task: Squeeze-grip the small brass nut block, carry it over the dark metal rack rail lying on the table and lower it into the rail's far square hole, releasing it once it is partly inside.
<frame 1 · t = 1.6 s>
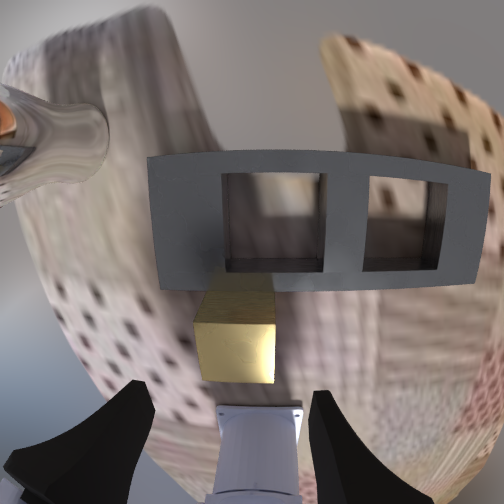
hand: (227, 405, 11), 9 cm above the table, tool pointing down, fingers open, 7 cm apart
nut block: (244, 301, 19), on the table
beer glass: (78, 143, 17), on the table
rack rail: (337, 216, 17), on the table
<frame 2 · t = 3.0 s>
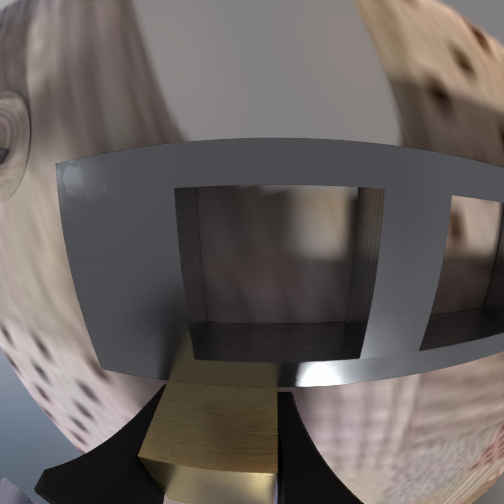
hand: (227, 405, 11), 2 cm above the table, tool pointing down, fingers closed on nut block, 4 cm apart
nut block: (231, 378, 12), on the table, touching gripper
beer glass: (2, 146, 9), on the table
rack rail: (382, 257, 10), on the table
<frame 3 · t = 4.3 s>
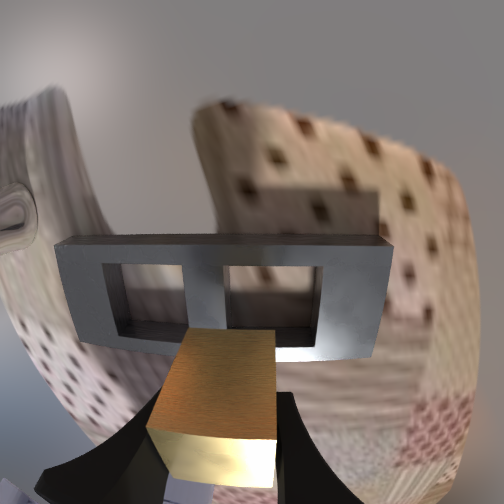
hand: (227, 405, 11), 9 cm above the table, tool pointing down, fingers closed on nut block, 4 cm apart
nut block: (233, 361, 13), point 6 cm above the table, touching gripper
beer glass: (19, 215, 18), on the table
rack rail: (212, 291, 19), on the table
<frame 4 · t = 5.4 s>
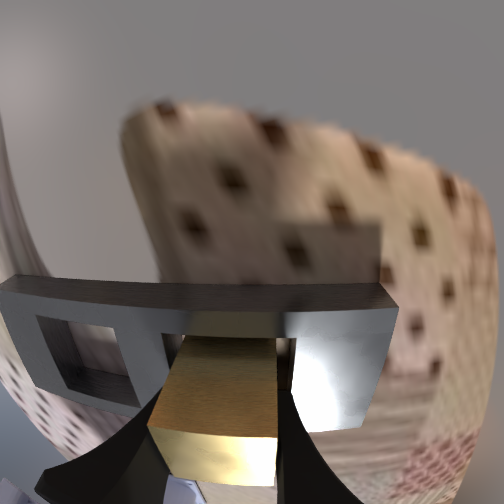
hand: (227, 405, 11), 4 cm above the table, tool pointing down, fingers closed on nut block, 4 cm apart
nut block: (234, 360, 13), point 1 cm above the table, touching gripper
rack rail: (163, 348, 14), on the table
when the fingers open (3 cm above the table, at t = 6.0 s): nut block stays where it is, on the table.
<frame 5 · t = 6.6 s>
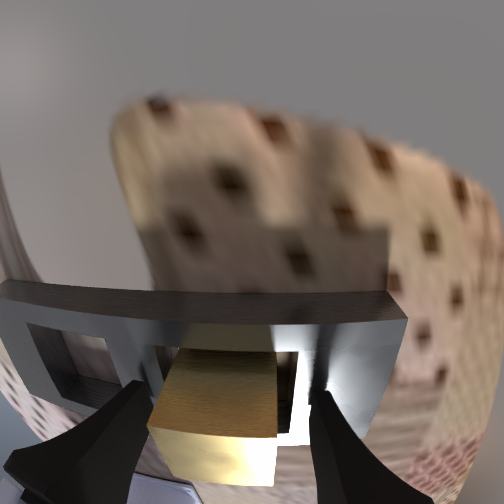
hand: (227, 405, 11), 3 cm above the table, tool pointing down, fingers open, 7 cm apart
nut block: (233, 360, 13), on the table
rack rail: (158, 358, 13), on the table
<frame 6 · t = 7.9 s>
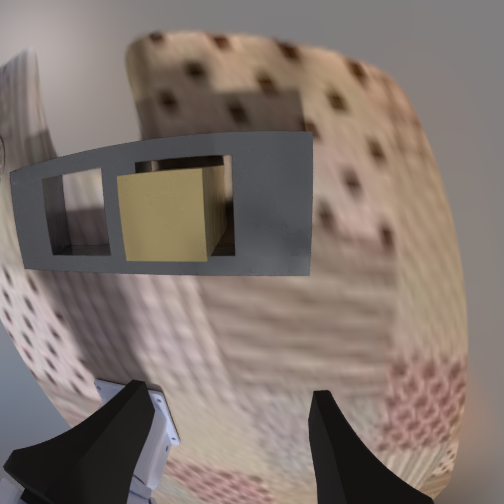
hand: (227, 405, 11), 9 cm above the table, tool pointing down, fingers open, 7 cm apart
nut block: (194, 198, 17), on the table
rack rail: (137, 204, 18), on the table
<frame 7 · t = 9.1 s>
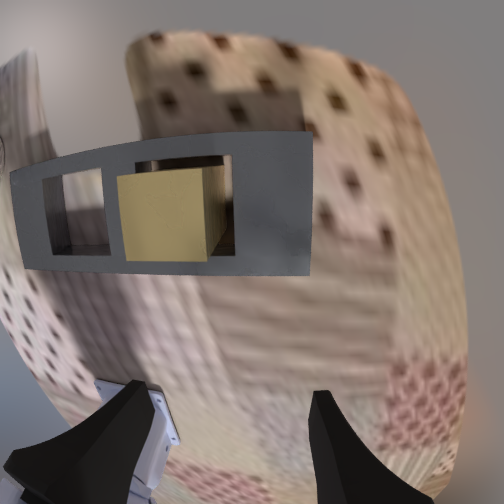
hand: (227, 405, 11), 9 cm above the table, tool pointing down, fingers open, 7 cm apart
nut block: (194, 198, 17), on the table
rack rail: (137, 204, 18), on the table
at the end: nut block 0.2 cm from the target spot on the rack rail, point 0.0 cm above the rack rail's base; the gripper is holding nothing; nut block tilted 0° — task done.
